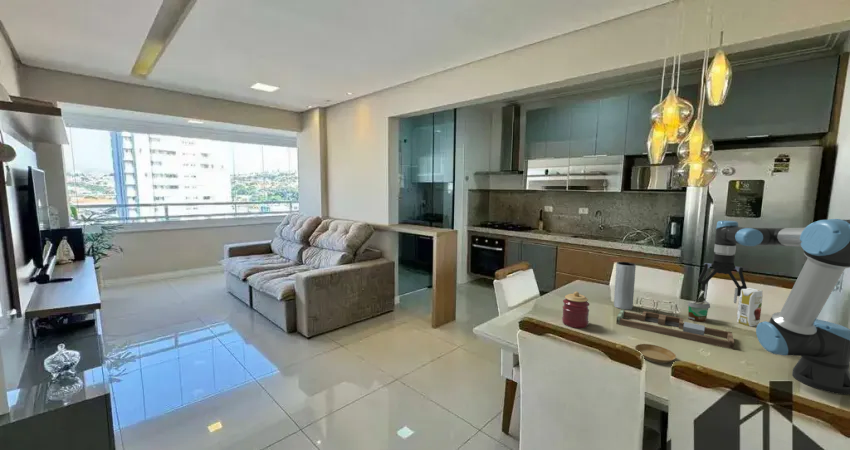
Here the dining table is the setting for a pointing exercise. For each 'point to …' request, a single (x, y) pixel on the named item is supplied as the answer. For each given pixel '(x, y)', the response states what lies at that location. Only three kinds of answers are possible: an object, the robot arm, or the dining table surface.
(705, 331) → the track
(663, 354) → the plant saucer
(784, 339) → the robot arm
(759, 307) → the juice carton
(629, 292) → the vase
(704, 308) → the food container
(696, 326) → the grey block
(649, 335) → the dining table surface
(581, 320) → the canister
